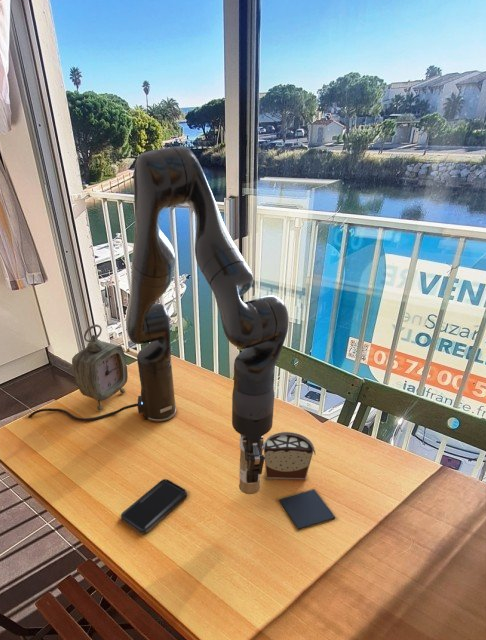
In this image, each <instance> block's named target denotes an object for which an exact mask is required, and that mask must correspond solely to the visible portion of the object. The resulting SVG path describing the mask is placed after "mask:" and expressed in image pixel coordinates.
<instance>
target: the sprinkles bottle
mask: <svg viewBox="0 0 486 640" xmlns="http://www.w3.org/2000/svg"><path fill="white" fill-rule="evenodd" d="M242 438H245V436H244V437H241V436H240V437H239V450H240V451H239V452H240V454H239V484H238V488H239V491H240V492H241V493H243V494H245V495H249V496H251V495H256V494H258V493H259V492H260V490H261V477H262V474H258V482H256V483H247V480H246V476H247V469H246V466H247V464H246V460H245V459H244V447H243V445H242ZM262 449H263V446H262ZM263 450H264V449H263ZM247 455H253V453H251V454H250V453H248V452H247Z"/></svg>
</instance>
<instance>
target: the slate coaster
mask: <svg viewBox="0 0 486 640" xmlns="http://www.w3.org/2000/svg"><path fill="white" fill-rule="evenodd" d="M278 501H279V503H280V505H281V506H282V507H283V509H284V510H285V512H286V514H287V516H289V518H290V519H291V521H292V523H293V524H294V526H295V527H296V529H297V530H302V529H305V528H308V527H312V526H316V525H318V524H322V523H326V522H328V521H331V520H335V519H336V516H335V515H334V513H333V512H332V511H331V509H330V508H329V507H328V505H327V504H326V503H325V501H324V500H323V499H322V498H321V496H320V494H319V493H317V491H316V490H315V489H314V488H313V489H310V490H307V491H303V492H300V493H297V494H293V495H289V496H286V497H283V498H282V497H281V498H280V499H278Z"/></svg>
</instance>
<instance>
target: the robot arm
mask: <svg viewBox="0 0 486 640" xmlns="http://www.w3.org/2000/svg"><path fill="white" fill-rule="evenodd" d="M133 201H134V202H133V203H134V233H133V246H132V256H131V270H130V271H131V272H130V273H131V277H130V278H131V279H130V292H129V293H130V294H129V299H128V303H127V309H126V315H125V329H126V333H127V337H128V338H129V340H130V341H131V342H132V343H133V344H135V345H145V344H147V345H146V346H144V347H143V348H141V349H140V350H139V351H138V353H137V355H136V361H137V368H138V376H139V382H140V383H139V384H140V395H138V396H137V403H133V404H128V405H125V406H123V407H120V408H118V409H117V410H114V411H112V412H111V411H110V412H109V413H105V414H102V415H98V416H93V417H83V418H81V417H77V416H74V415H73V414H71V413H70V412H69V411H67V410H66V409H62V408H48V407H47V408H40V409H36V410H34V411H33V412H31V413H30V414H29V415H28V418H29V419H31V418H32V417H33V416H34V415H36V414H39V413H43V412H60V413H63V414H64V415H67V416H68V417H69V418H71V419H73V420H74V421H80V422H92V421H97V420H101V419H103V418H108V417H110V416H114V415H117V414H119V413H120V412H123V411H125V410H128V409H131V408H136V407H137V412H138V414H143V417H144V418H143V419H144V420H145V421H150V422H154V423H163V422H166V421H170V420H171V419H173V418H174V417H175V416H176V414H177V407H176V397H175V388H174V377H173V365H172V339H171V338H172V336H171V335H172V334H171V320H170V316H169V315H170V314H169V312H168V310H167V308H166V307H165V305H163V303H157V302H158V301H159V299H160V298H162V296H163V295H164V294H165V292H166V291H167V290H168V289H169V287H170V285H171V283H172V281H173V278H174V277H173V276H174V272H175V266H176V252H175V249H174V247H173V245H172V243H171V241H170V240H169V238H168V237H167V236H166V235H165V233H164V232H163V230H162V229H161V227H160V225H159V217H160V214H161V211H162V210H164V209H168V208H173V207H177V206H181V205H185V204H187V205H188V206H189V207H190V208H191V210H192V212H193V214H194V217H195V221H196V226H195V227H196V228H195V237H194V256H195V260H196V263H197V264H196V265H197V266H198V268H199V270H200V272H201V273H202V276H203V277H204V279H205V281H206V282H207V284H208V286H209V288H210V289H211V291H212V293H213V296H214V299H215V302H216V306H217V309H218V312H219V317H220V321H221V326H222V330H223V333H224V335H225V337H226V339H227V340H228V342H229V343H230V344H231V345H232V346H233V347H236V348H237V349H240V350H242V351H241V352H239V353H238V354H237V355H236V356H235V359H234V362H233V388H232V394H231V425H232V428H233V430H234V431H235V432H236V433H238V434H239V435H240V437H244V436H245V438H242V445H243V447H244V459H245V460H246V464H247V466H246V469H247V476H246V480H247V483H256V482H258V474H261V475H262V474H263V468H264V464H265V458H264V454H263V452H262V446H263V445H264V443H265V441H264V436H265V435H266V434H268V433H269V432H270V431H271V429H272V428H273V423H274V422H273V421H274V409H275V408H274V407H275V389H274V388H275V372H276V365H277V363H278V360H279V357H280V355H281V352H282V349H283V346H284V344H285V341H286V338H287V334H288V331H289V326H290V325H289V324H290V318H289V317H290V316H289V312H288V311H289V310H288V309H287V306H286V304H285V303H284V301H283V300H282V299H281V298H279V297H277V296H276V295H264V296H262V297H261V296H260V297H258V298H255V299H252V300H248V301H245V302H244V301H243V300H242V299H241V297H243V296H244V295H245V294H247V293H248V292H249V290H251V288H252V286H253V285H254V274H253V272H252V270H251V268H250V267H249V265H248V264H247V261H246V260H245V259H244V257H243V255H242V253H241V252H240V250H239V249H238V247H237V245H236V244H235V242H234V241H233V239H232V237H231V235H230V233H229V231H228V229H227V227H226V224H225V223H224V221H223V218H222V215H221V212H220V210H219V207H218V204H217V202H216V200H215V197H214V194H213V192H212V190H211V187H210V185H209V183H208V180H207V177H206V175H205V172H204V170H203V167H202V165H201V164H200V162H199V159H198V158H197V156H196V155H195V153H194V152H193V151H192V149H190V148H189V147H187V146H183V145H178V146H177V145H176V146H169V147H165V148H158V149H153V150H148V151H146V152H143V153H141V154H140V155H138V156H137V158H136V161H135V164H134V169H133ZM247 452H248V453H250V454H251V453H253V455H247Z"/></svg>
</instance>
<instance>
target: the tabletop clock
mask: <svg viewBox="0 0 486 640" xmlns="http://www.w3.org/2000/svg"><path fill="white" fill-rule="evenodd" d="M94 328H99V332H98V333H97V335H95V334H92V335H91V339H90V338H89V339H87V335H88V333H89V332H90V331H91V330H92V329H94ZM102 329H103V328H102V326H101V325H99V324H93V325H91V326H90V327H88V328H87V329H86V330H85V331H84V334H83V339H84V341H85V342H87V345H86V347H84V348H82V349H81V350H80V351H78V352H77V353H75V355H74V356H73V357H72V358H71V366H72V373H73V377H74V380H75V385H76V386H77V389H78V390H79V392H80V393H81V394H82V396H85V397H88V398H90V399H94V400H96V401H97V404H98V405H97V407H96V408H97V411H99V412H101V411H102V410H103V408H104V407H103V406H102V405H101V402H104V401H106V400H108V399H109V398H111V397H112V396H114V395H116V394H117V393H118V392H120V393H121V394H125V393H126V389H125V388H123V387H124V386H125V385H126V384H127V383H128V363H127V358H126V355H125V351H124V349H123V347H122V345H118V344H114V343H111V342H107V341H103V340H101V339H98V338H99V337H100V336H101V334H102V331H103V330H102Z"/></svg>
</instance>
